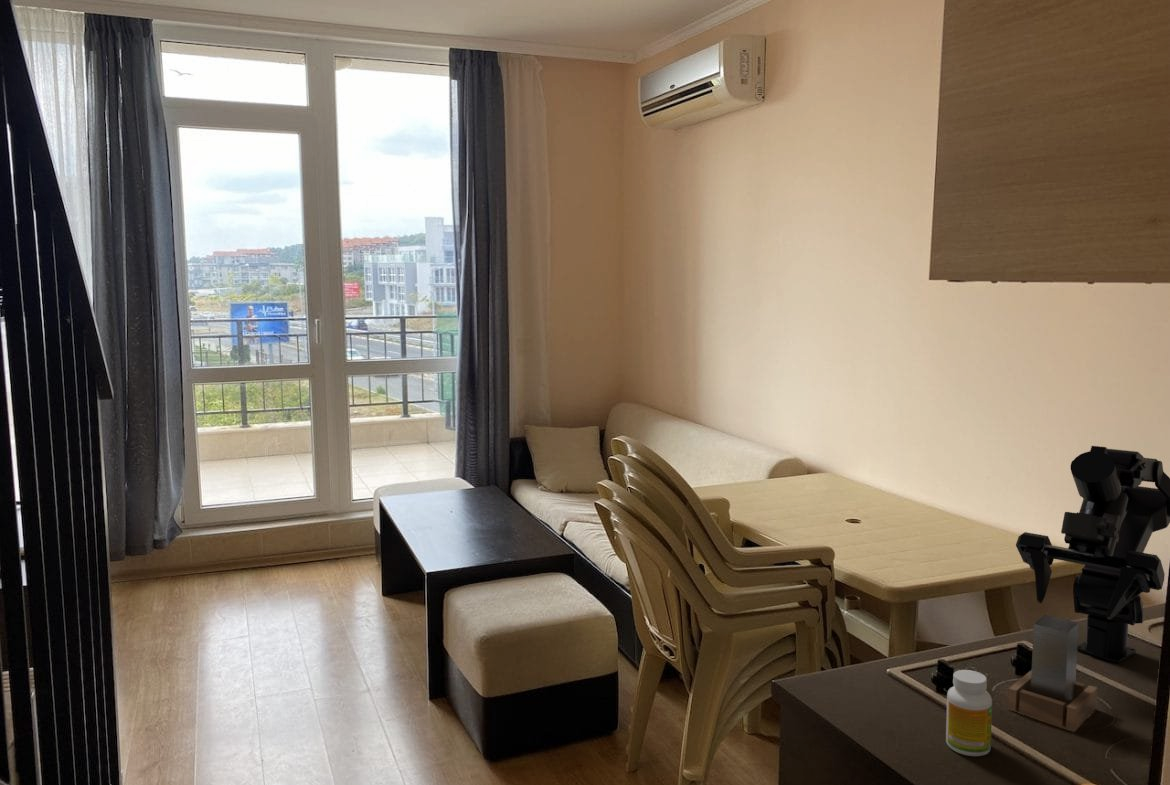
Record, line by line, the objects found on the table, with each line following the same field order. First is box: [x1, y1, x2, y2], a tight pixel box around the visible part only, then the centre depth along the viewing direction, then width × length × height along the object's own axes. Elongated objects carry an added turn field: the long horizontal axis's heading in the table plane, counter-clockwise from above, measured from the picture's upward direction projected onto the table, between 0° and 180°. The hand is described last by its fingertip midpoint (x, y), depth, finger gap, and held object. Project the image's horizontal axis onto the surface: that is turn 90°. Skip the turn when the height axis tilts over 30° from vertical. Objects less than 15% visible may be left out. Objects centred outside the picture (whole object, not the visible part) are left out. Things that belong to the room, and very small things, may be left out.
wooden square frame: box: [1007, 669, 1098, 733], centre depth 123 cm, size 9×9×4 cm
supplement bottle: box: [945, 669, 993, 757], centre depth 114 cm, size 5×5×10 cm
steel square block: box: [1031, 614, 1079, 717], centre depth 122 cm, size 4×4×12 cm
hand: (1072, 609), depth 126 cm, fingers open, 9 cm apart
